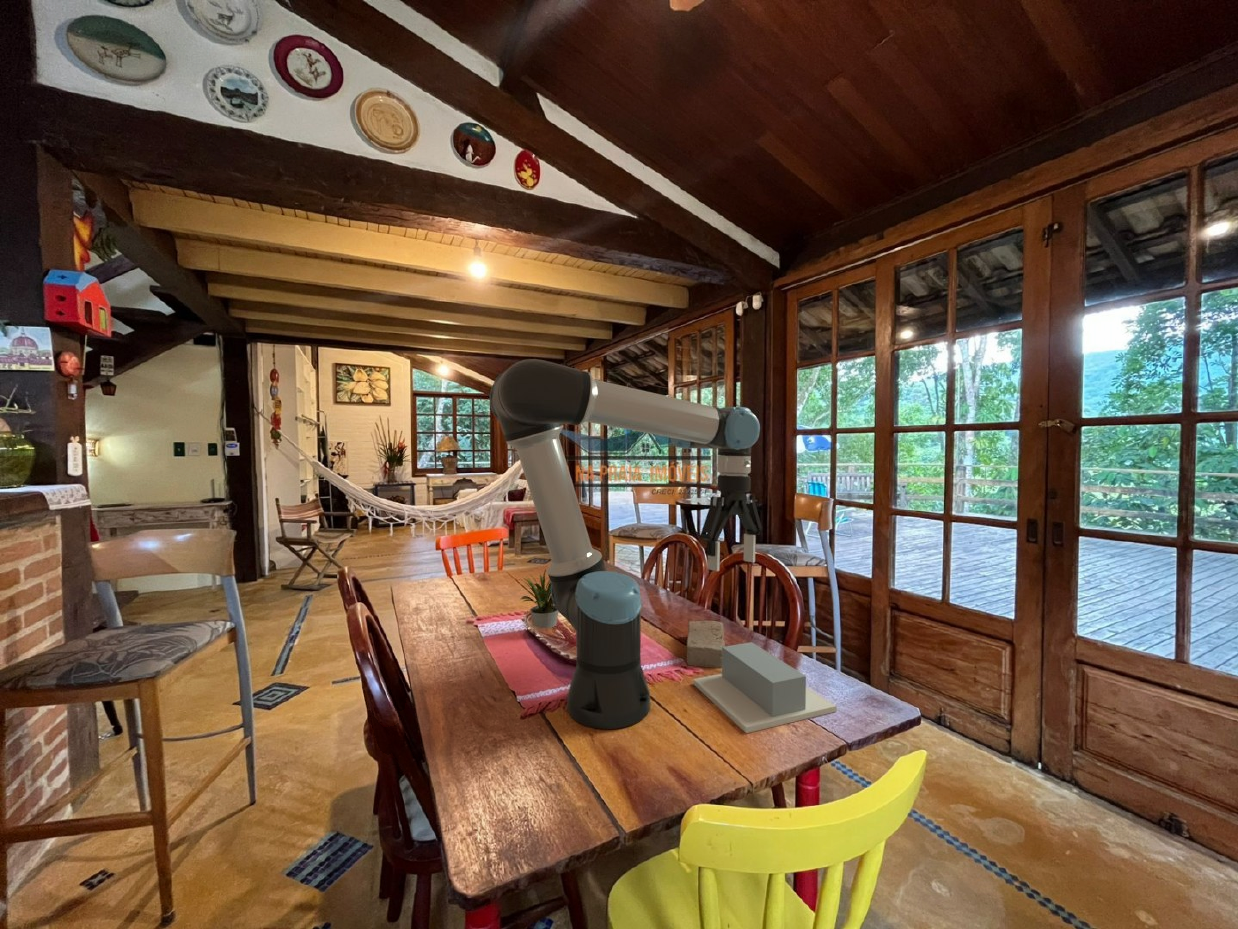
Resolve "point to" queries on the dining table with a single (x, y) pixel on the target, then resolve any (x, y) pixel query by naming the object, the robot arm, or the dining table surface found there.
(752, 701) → the tower base
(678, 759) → the dining table surface
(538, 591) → the house plant
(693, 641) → the brick
